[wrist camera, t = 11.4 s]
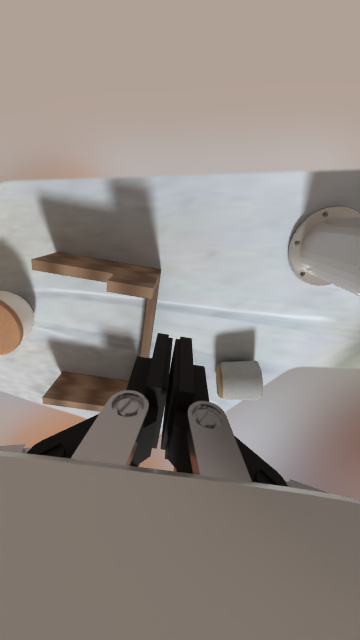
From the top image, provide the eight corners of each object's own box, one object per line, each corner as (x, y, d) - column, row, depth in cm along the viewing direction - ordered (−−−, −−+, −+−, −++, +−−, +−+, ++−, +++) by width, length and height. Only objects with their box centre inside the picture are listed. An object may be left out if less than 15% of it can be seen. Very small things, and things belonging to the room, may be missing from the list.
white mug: (214, 355, 49) (219, 379, 42) (254, 353, 48) (266, 376, 41) (215, 395, 53) (219, 422, 46) (251, 393, 53) (262, 420, 46)
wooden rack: (161, 269, 42) (152, 288, 31) (144, 389, 53) (134, 434, 42) (58, 251, 41) (12, 264, 30) (62, 377, 52) (30, 420, 41)
